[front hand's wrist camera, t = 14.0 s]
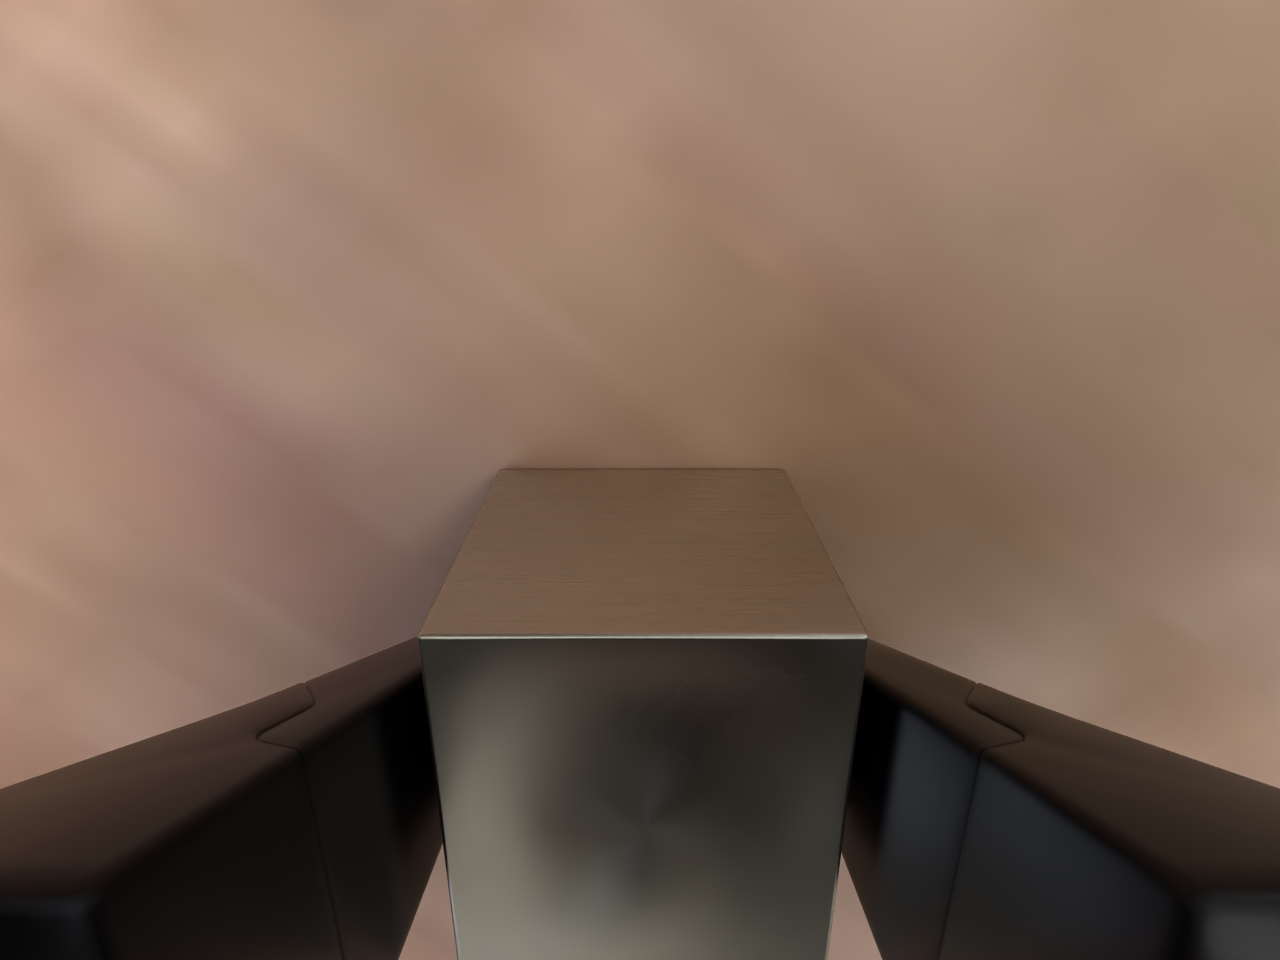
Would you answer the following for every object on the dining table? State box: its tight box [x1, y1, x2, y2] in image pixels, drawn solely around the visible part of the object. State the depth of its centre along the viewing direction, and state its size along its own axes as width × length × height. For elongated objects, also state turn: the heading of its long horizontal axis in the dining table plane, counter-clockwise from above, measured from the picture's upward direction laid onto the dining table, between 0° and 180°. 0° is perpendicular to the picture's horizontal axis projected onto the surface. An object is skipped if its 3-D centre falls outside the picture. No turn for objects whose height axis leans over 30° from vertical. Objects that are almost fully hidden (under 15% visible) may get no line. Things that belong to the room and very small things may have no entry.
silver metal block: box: [417, 469, 869, 960], centre depth 11 cm, size 5×4×5 cm
